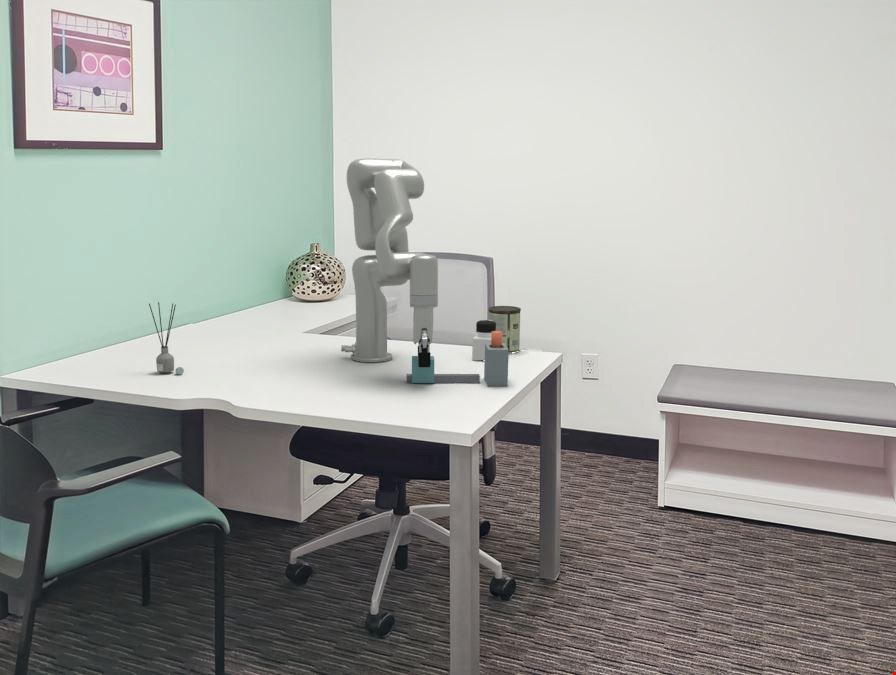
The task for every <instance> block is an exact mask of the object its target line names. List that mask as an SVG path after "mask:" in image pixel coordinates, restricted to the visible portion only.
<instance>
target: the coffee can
mask: <svg viewBox="0 0 896 675" xmlns="http://www.w3.org/2000/svg"><path fill="white" fill-rule="evenodd" d="M521 310H522V309H521V307H518V306H514V305H513V306H512V305H494V306H493V305H492V306H490V307H488V320H492V321H494V322H495V323H496V331H501V332H502V343H505V345H506V346H507V348H508V350H509V353H508V355H511V354H510V353H512V352H517V351H519V352H520V340H521V339H520V336H521V335H520V334H521V333H520V331H521V330H520V329H521V328H520V327H521Z"/></svg>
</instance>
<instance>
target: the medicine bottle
mask: <svg viewBox="0 0 896 675" xmlns="http://www.w3.org/2000/svg"><path fill="white" fill-rule="evenodd" d="M475 326H476V328H475V329H476V330H475V336H473V338H472V347H471V349H472V351H471V352H472V353H471V354H472V356H471V358H472V361H473V360H485V343H491V332H492V331H496V323H495V322H494V321H492V320H489V319H481V320H478V321H476V325H475Z"/></svg>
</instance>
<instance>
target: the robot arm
mask: <svg viewBox="0 0 896 675" xmlns="http://www.w3.org/2000/svg"><path fill="white" fill-rule="evenodd" d="M346 185H347V190H348V193H349V196H350V199H351V202H352V208H353V226H354V238H355V244H356V246H357V248H359V250H362V251H368V252H369V251H373V252H374V251H375V254H370V255H369V254H368V255H362V256H359V257H357V258H356V259H355V260H353V263H352V267H351V269H352V271H351V272H352V278H353V279H352V280H353V283H354V284H353V285H354V291H355V292H354V294H355V296H354V297H355V342H354V344H353V343H352V344H351V345H348V344H347V345H345V344H344V345H341V347H340V348H341V350H340V351H341V352H344V353H351V354H350V359H351V358H352V359H353V360H352V359H351V360H352V361H355V360H356V361H355V362H359V361H360V363H384V362H388V361H390V360H392V359H393V354H392V353H391V352H389V351H388V300H387V298H386V296H385V295H384V293H383V291H382V290H381V287H394V286H402V285H404V284H406V283H407V282H408V281H409V307H410V308H413V312H412V314H413V317H412V318H413V320H412V321H413V332H412V333H413V334H412V335H413V336H412V337H413V344H414V345H417V344H418V346H417V356H418V366H419V367H430V366H431V356H432V355H431V354H432V353H431V351H430V345H432V343H433V334H434V308H437V307H439V302H438V301H439V296H438V294H439V291H438V289H439V286H438V285H439V262H438V257H437V256H436V255H432V254H427V253H424V252H421V251H414V252H413V251H412V252H409V237H408V236H409V235H408V231H407V228H406V227H407V226H409V225H410V224H411V223H412V222H413V220H414V213H413V210H412V207H411V203H410V200H414V199H416V200H417V199H419V198H420V197H422V196H423V194H424V190H425V181H424V178H423V176H422V173H421V172H420V171H419V170H418V169H417V168H415V167H414V166H412V165H411V164H409V163H408V162H406V161H405V160H403V159H399V158H373V157H372V158H370V157H369V158H368V157H367V158H359V159H355V160H353V161H351V162H350V163H349V164H348V167H347V170H346ZM373 189H374V190H375V192H374V190H373Z"/></svg>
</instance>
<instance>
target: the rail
mask: <svg viewBox="0 0 896 675" xmlns="http://www.w3.org/2000/svg"><path fill="white" fill-rule="evenodd" d="M405 378H406V381H405V382H406V384H413V383H412V373H406V377H405ZM480 382H481V375H480V373H434V383H433V384H480Z"/></svg>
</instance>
